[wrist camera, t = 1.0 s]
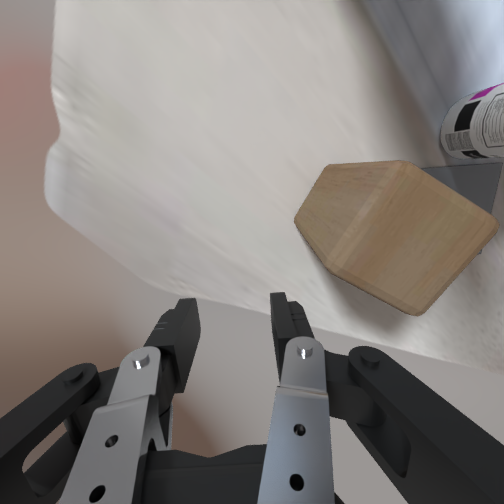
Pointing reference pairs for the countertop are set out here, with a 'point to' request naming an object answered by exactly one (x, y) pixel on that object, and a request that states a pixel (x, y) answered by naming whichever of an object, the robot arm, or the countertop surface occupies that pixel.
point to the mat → (471, 182)
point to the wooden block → (393, 230)
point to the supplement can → (476, 125)
